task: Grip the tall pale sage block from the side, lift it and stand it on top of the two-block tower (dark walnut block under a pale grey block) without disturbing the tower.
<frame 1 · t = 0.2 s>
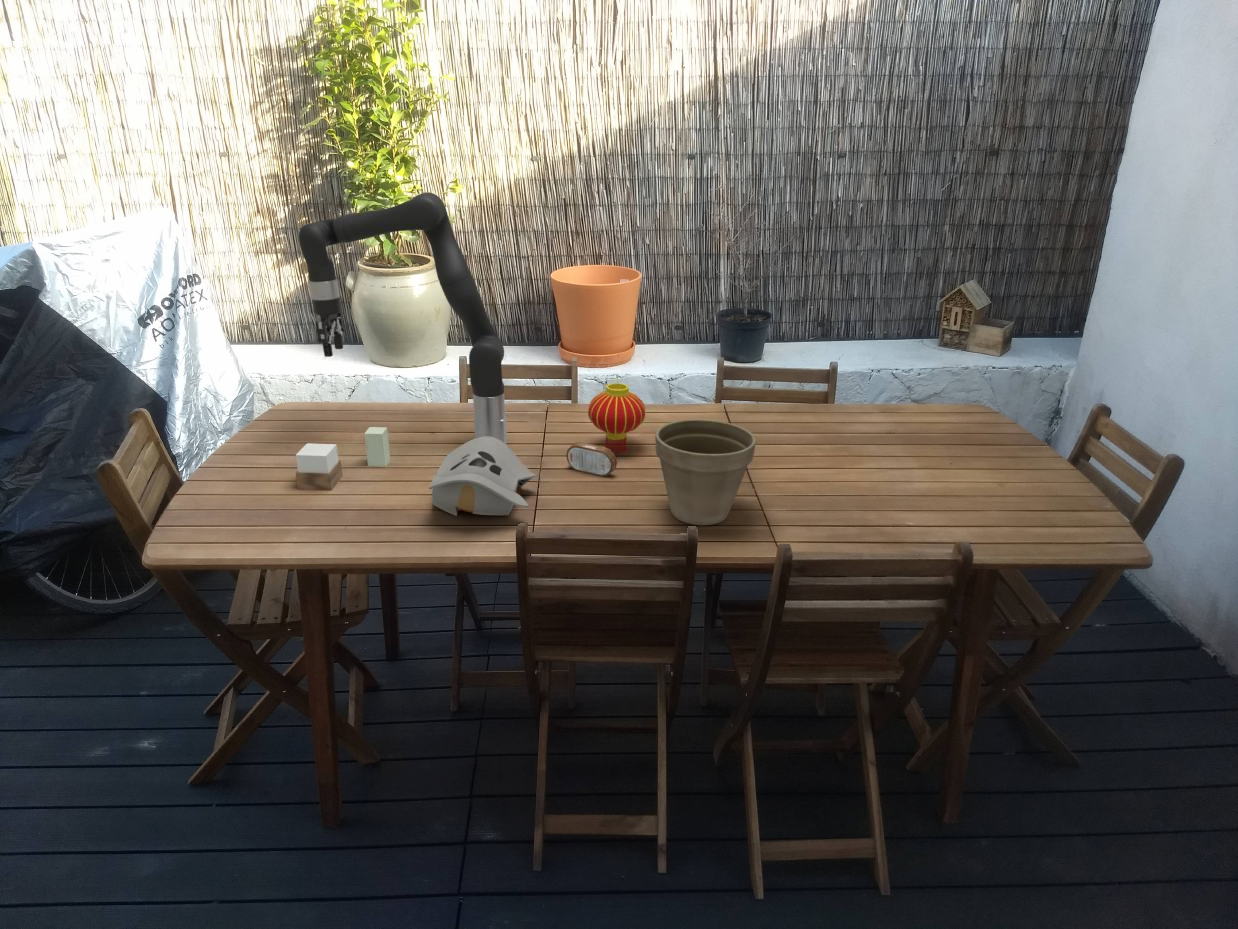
hand: (334, 352, 231), 28 cm above the table, fingers open, 8 cm apart
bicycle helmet: (483, 506, 208), on the table
tower top: (318, 466, 215), point 5 cm above the table, touching tower bottom
tin: (590, 473, 228), on the table
tower bottom: (320, 483, 217), on the table, touching tower top
block: (379, 462, 230), on the table
lantern: (615, 450, 243), on the table
plant pot: (699, 513, 207), on the table
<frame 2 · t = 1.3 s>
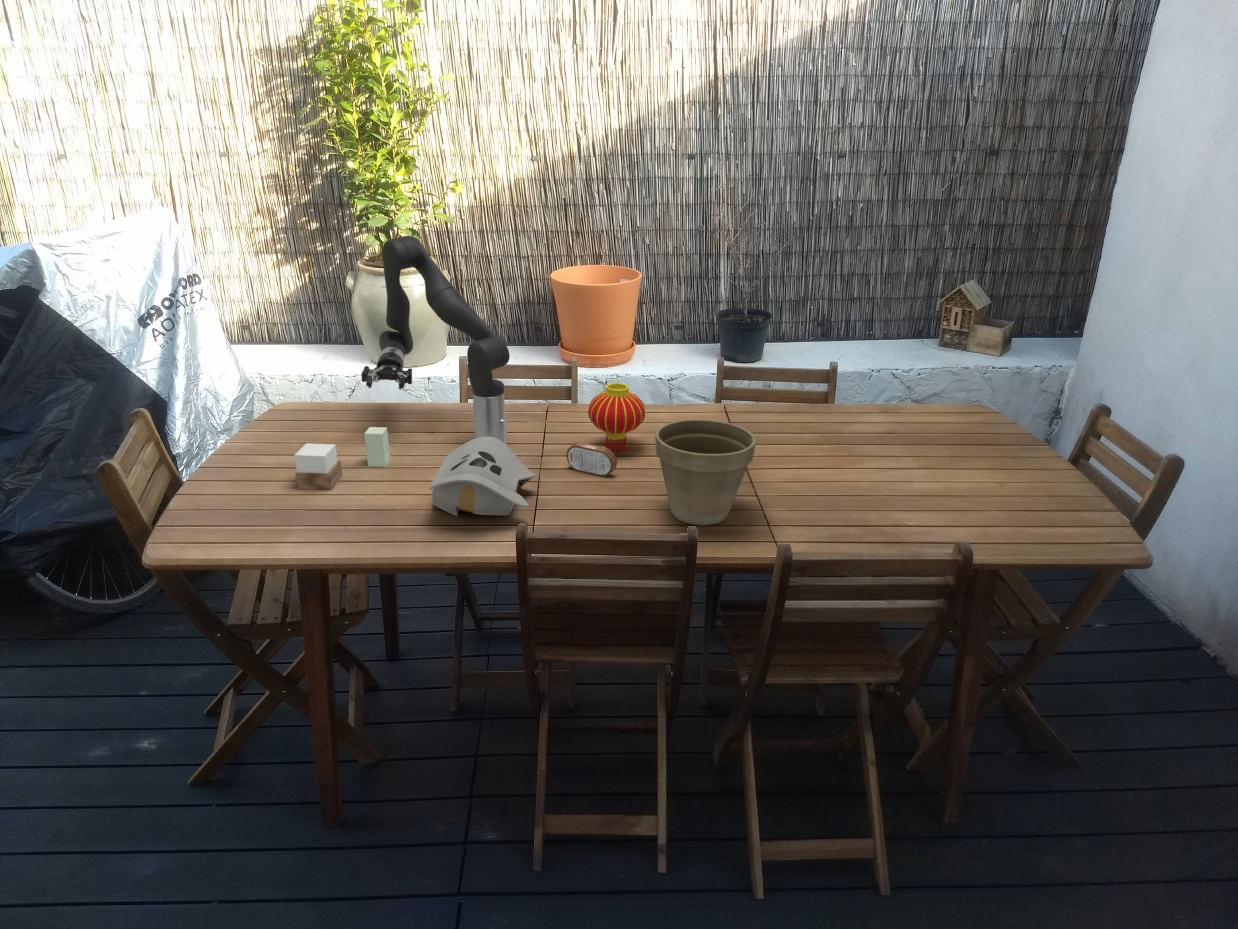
hand: (384, 385, 231), 20 cm above the table, fingers open, 8 cm apart
tower top: (317, 466, 215), point 5 cm above the table
tower bottom: (320, 483, 217), on the table
everything else where it was.
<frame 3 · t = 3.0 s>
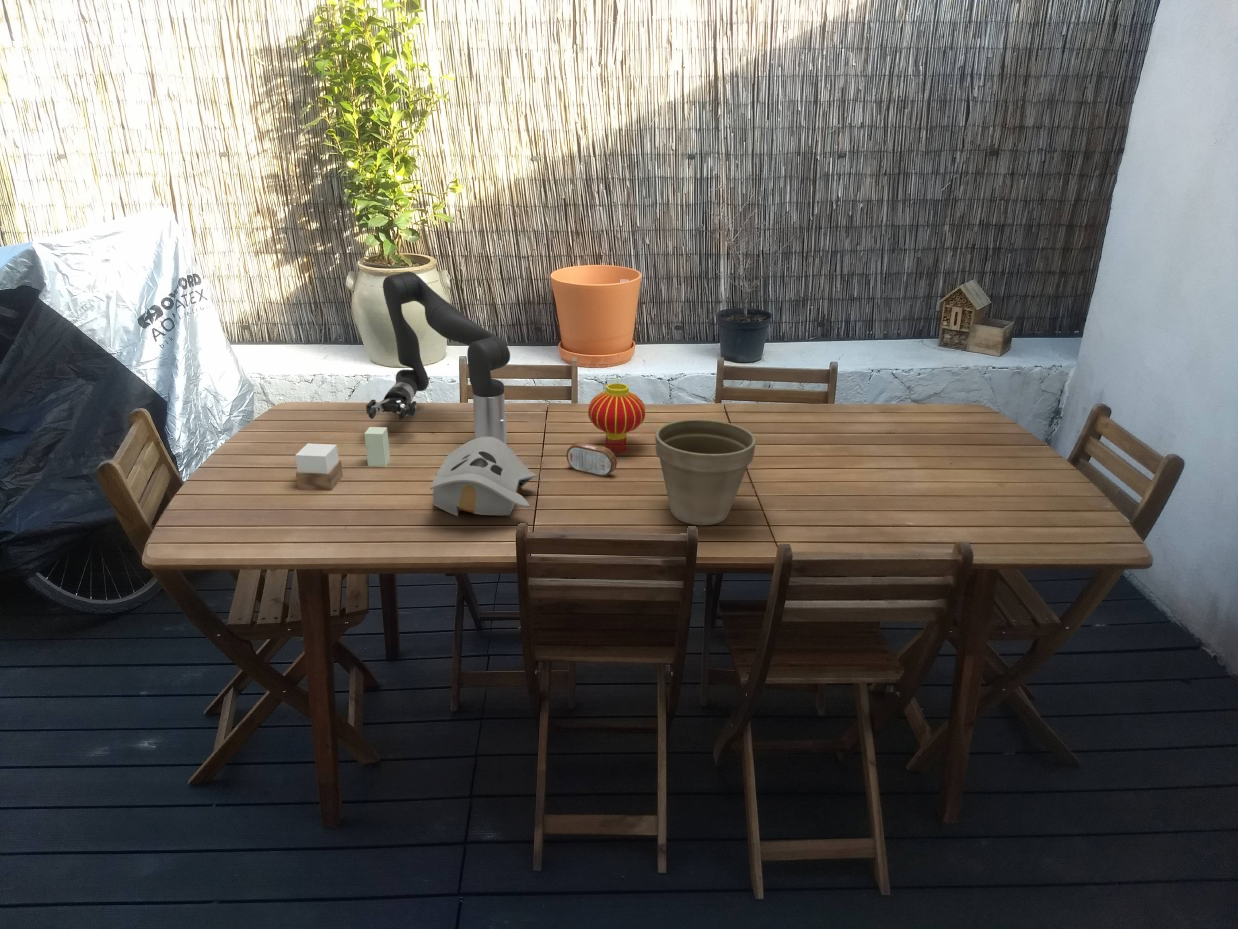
hand: (385, 416, 236), 10 cm above the table, fingers open, 8 cm apart
tower top: (318, 466, 215), point 5 cm above the table, touching tower bottom
tower bottom: (321, 483, 217), on the table, touching tower top
everything else where it was.
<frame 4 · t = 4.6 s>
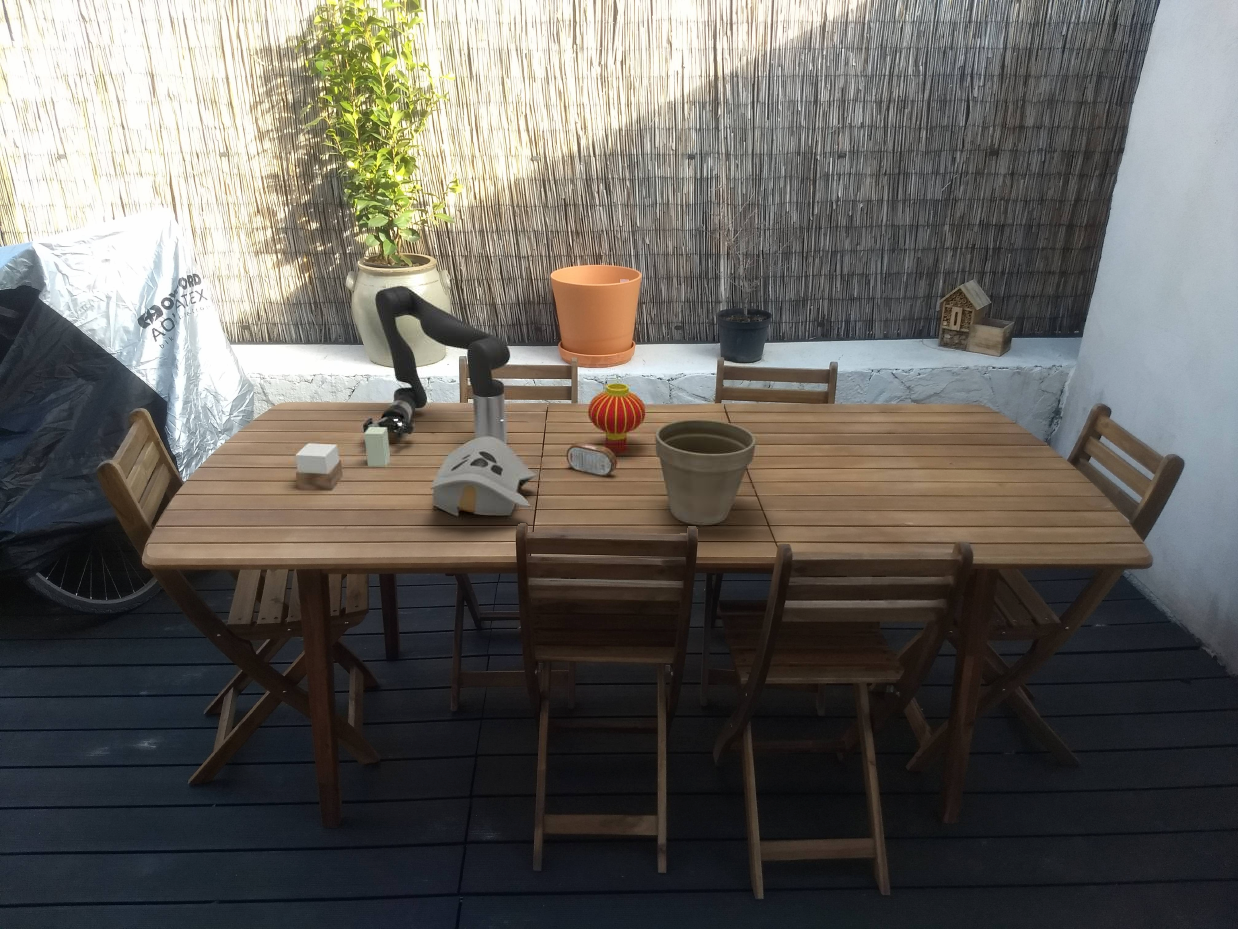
hand: (382, 435, 233), 6 cm above the table, fingers open, 8 cm apart
tower top: (318, 466, 215), point 5 cm above the table
tower bottom: (321, 483, 217), on the table
everything else where it was.
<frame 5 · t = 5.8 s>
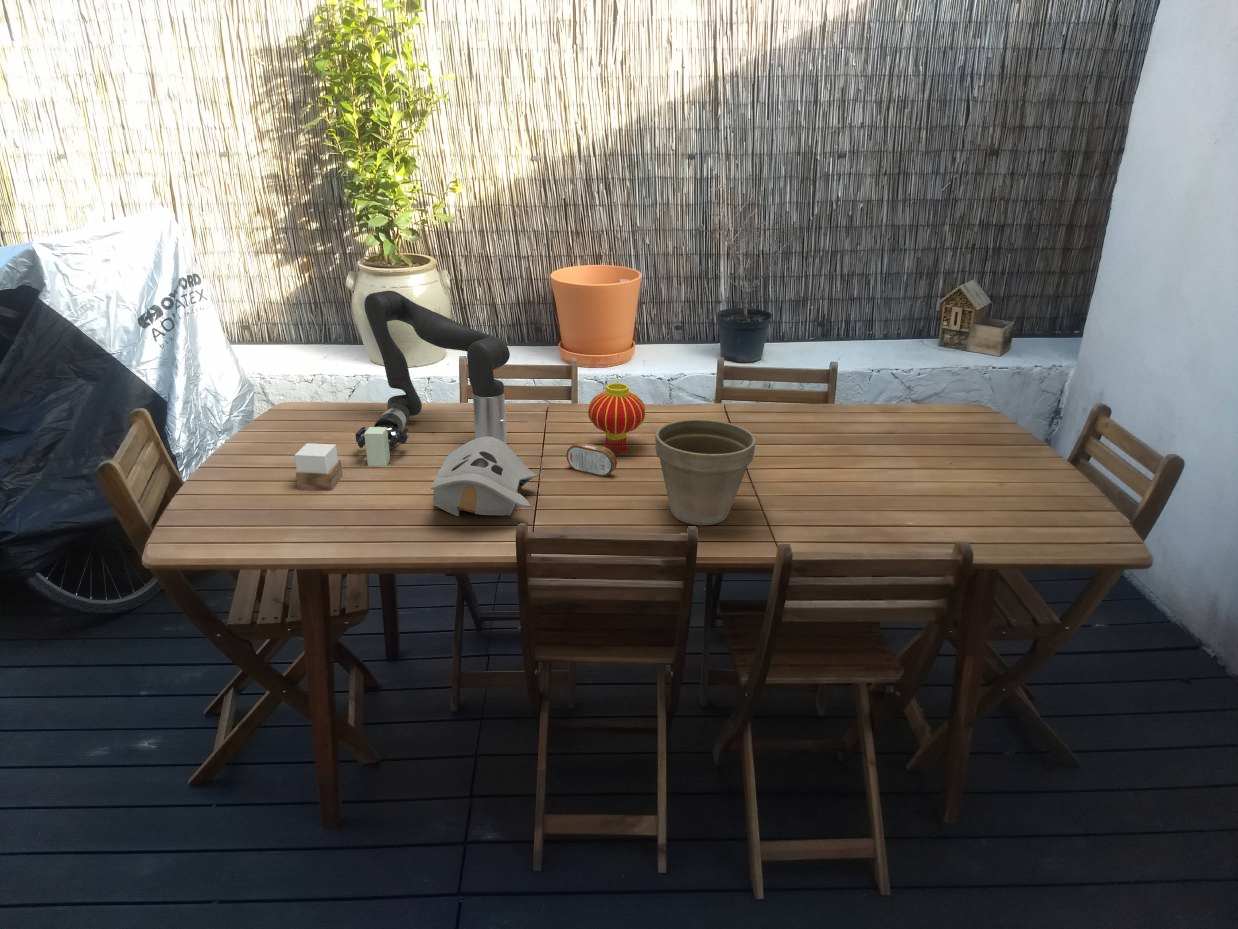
hand: (375, 445, 226), 6 cm above the table, fingers open, 8 cm apart
tower top: (317, 466, 215), point 5 cm above the table, touching tower bottom
tower bottom: (321, 483, 217), on the table, touching tower top
everything else where it was.
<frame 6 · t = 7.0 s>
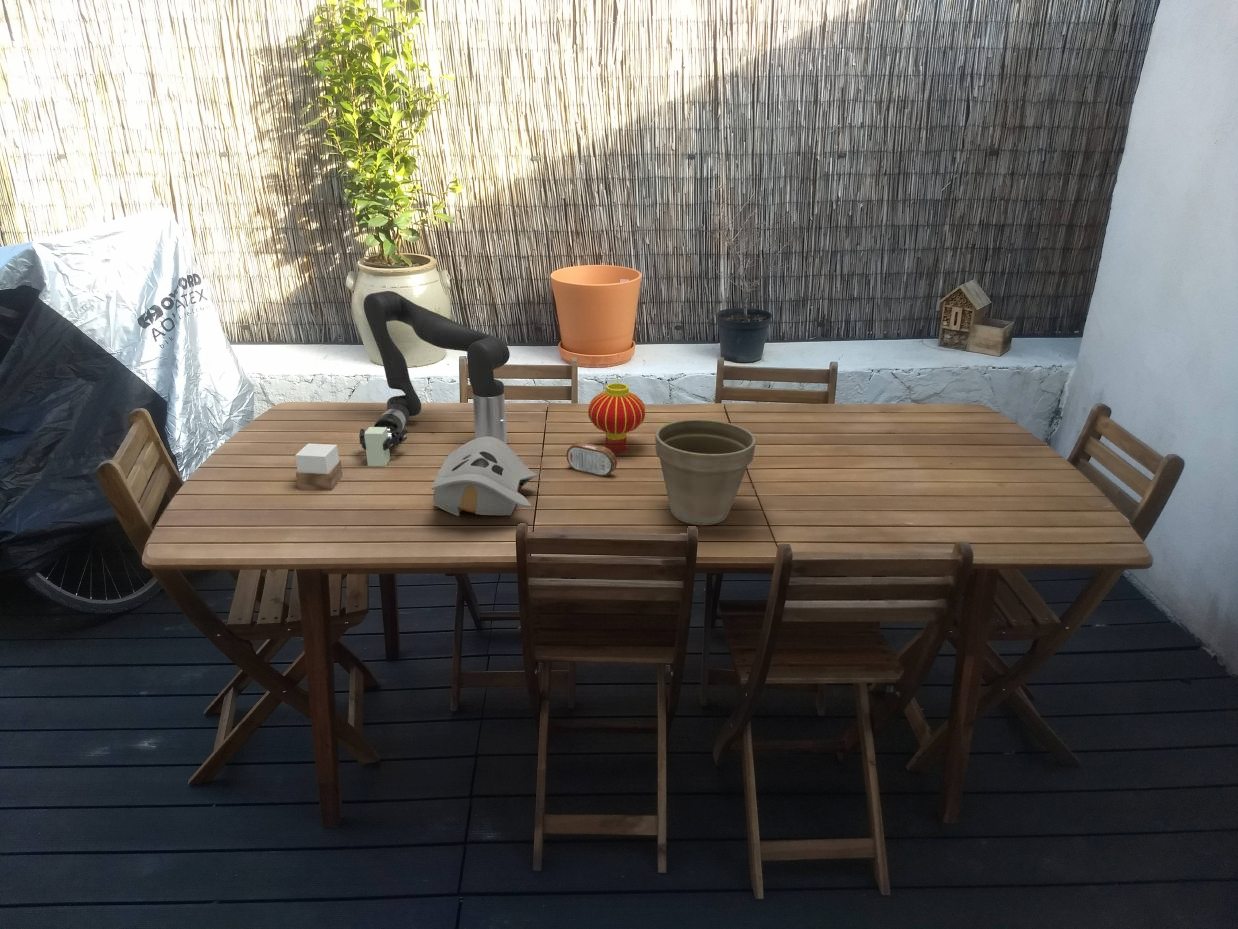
hand: (374, 446, 225), 6 cm above the table, fingers closed on block, 5 cm apart
block: (379, 462, 230), on the table, touching gripper
everything else where it was.
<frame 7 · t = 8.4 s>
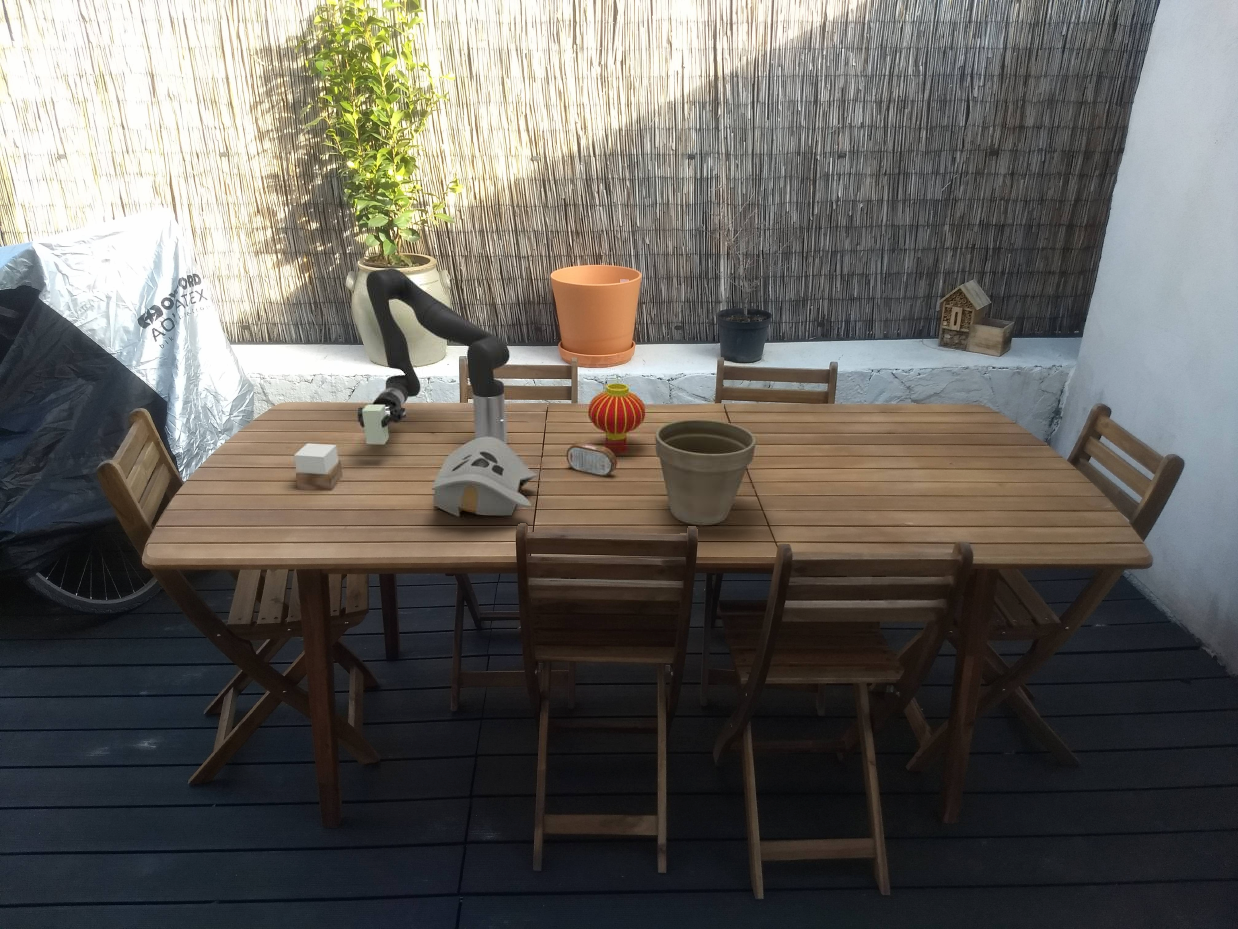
hand: (372, 424, 222), 13 cm above the table, fingers closed on block, 5 cm apart
block: (377, 440, 227), point 7 cm above the table, touching gripper
everything else where it was.
when the fingers open (17 cm above the table, at t = 13.1 s): block drops 1 cm, resting on tower top.
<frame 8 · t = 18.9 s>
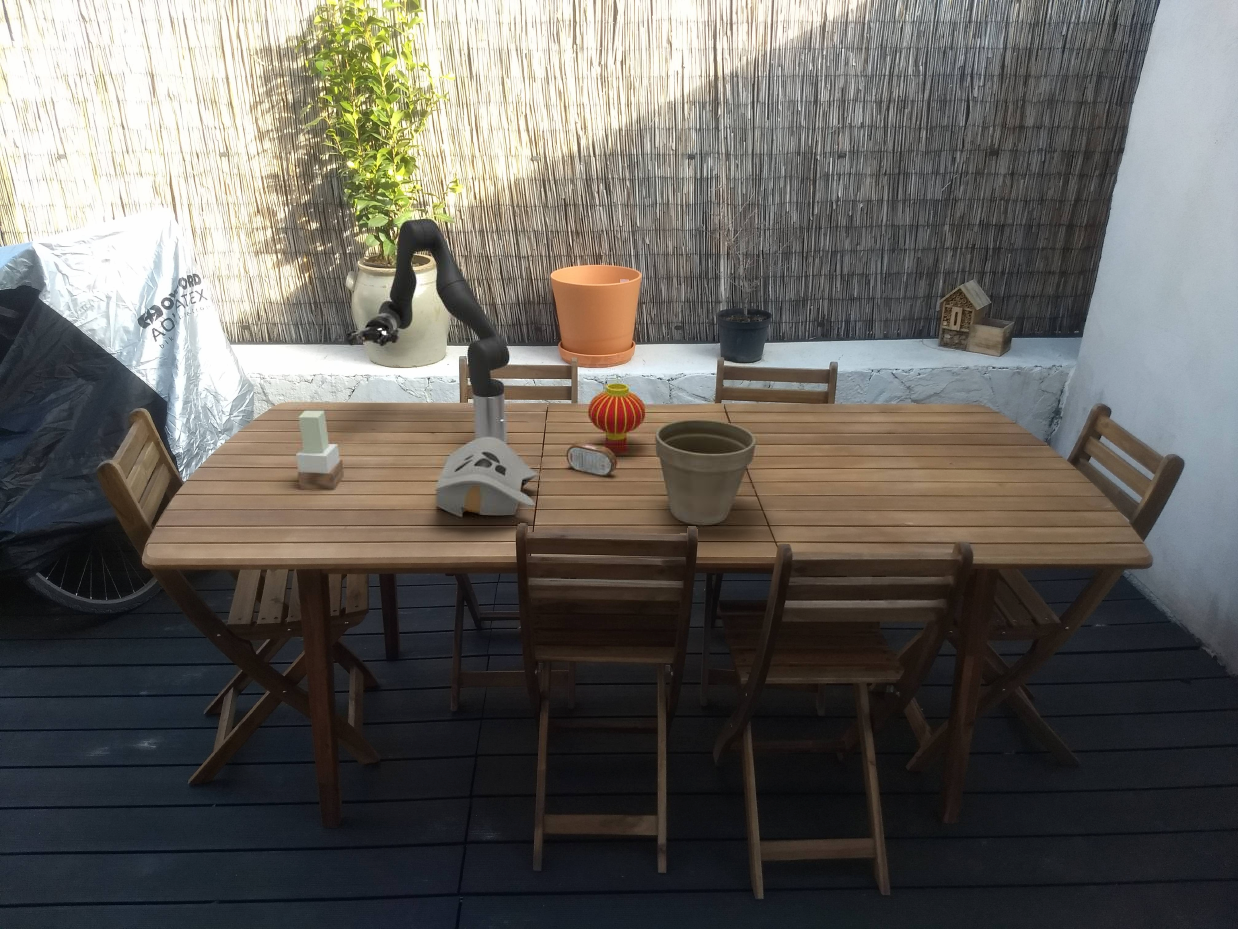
hand: (365, 342, 228), 32 cm above the table, fingers open, 8 cm apart
tower top: (319, 466, 215), point 5 cm above the table, touching block, tower bottom
block: (316, 449, 213), point 10 cm above the table, touching tower top
at the end: block 0.1 cm off-centre on the tower top, point 5.0 cm above the tower top's base; block tilted 0°; tower top moved 0.4 cm from its start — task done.
